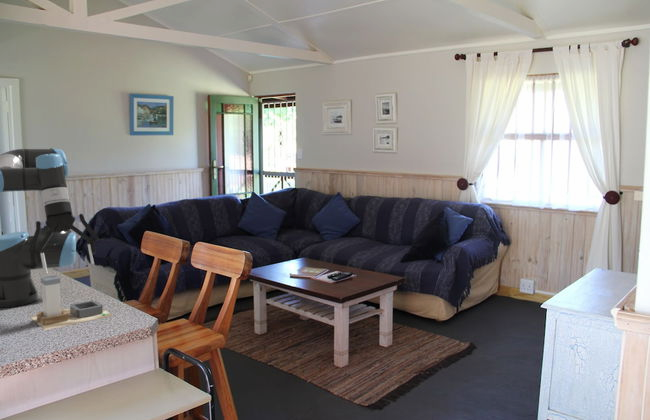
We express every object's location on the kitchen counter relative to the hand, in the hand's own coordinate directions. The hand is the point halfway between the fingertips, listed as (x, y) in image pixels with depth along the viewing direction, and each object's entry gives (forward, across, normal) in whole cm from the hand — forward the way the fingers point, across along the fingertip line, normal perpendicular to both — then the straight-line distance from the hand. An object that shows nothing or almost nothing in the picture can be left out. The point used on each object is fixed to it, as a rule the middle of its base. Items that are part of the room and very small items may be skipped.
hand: (69, 269), depth 177 cm
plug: (+14, -7, -3) cm, 16 cm away
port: (+15, +3, 0) cm, 15 cm away
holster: (+14, -7, -3) cm, 16 cm away
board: (+16, -2, -1) cm, 16 cm away
